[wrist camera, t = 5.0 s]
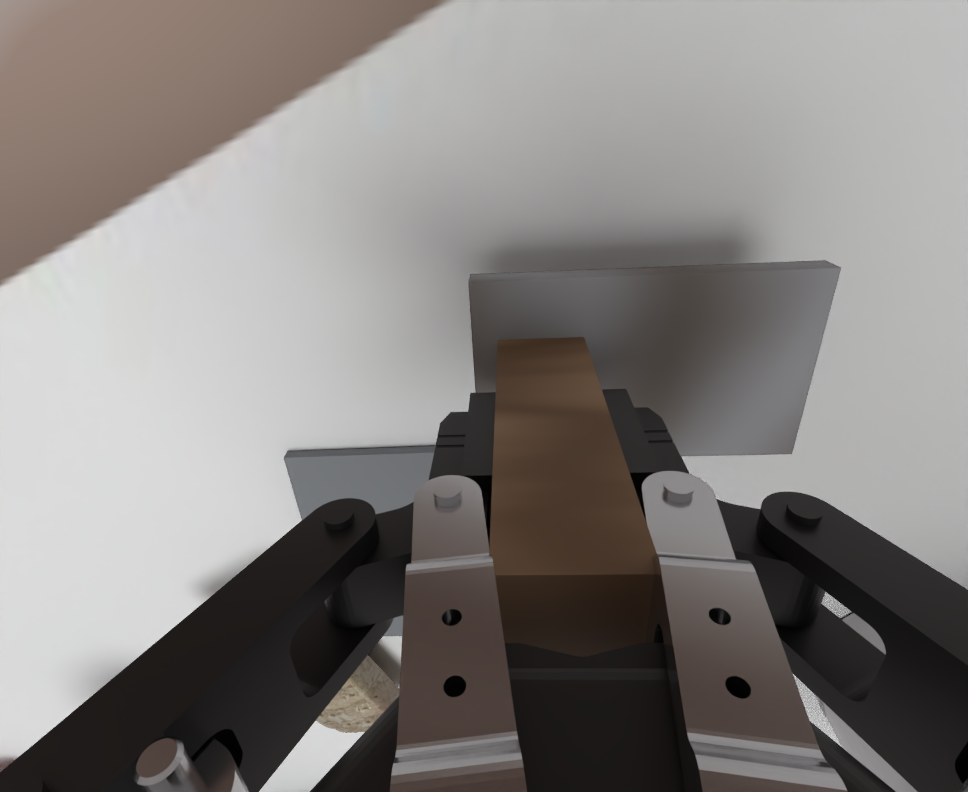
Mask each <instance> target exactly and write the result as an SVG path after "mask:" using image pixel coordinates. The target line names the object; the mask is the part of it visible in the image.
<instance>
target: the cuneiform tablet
mask: <svg viewBox="0 0 968 792" xmlns="http://www.w3.org/2000/svg"><path fill="white" fill-rule="evenodd" d="M399 691H400V689H399V688H398V687H397V686H396V685H395V683H394V682H393V681H392V680H391V679H390V678H389V677H388V676H387V675H386V674H385V673H384V672H383V670H382V669H381V668H380V667H379V666H378V665H377V664H376V663H375V662H374V661H373V660H372V659H371V658H370V657H369V656H368V655H367V657H366V658H365V659H364V660H363V662H362V663H361V664H360V665H359V667H358V668H357V669H356V670H355V672H354V673H353V674H352V675H351V677H350V678H349V679H348V680H347V682H346V683H345V684H344V685H343V687H342V688H341V689H340V690H339V692H338V693H337V694H336V695H335V697H334V698H333V699H332V700H331V702H330V703H329V704H328V705H327V707H326V708H325V709H324V711H323V712H322V713H321V714H320V716H319V717H318V718H317V719H316V721H317V722H319V723H320V724H322V725H324V726H326V727H328V728H332V729H334V728H335V729H336V730H338V731H340V732H345V733H347V732H350V733H352V732H355V733H356V732H366V731H367V730H368V729H369V727H370V726H371V725H372V724H373V723H374V722H375V721H376V720H377V719H378V718H379V717H380V716H381V715H382V713H383V712H384V711H385V710H386V709H387V708H388V707H389V706H390V705H391V704H392V703H393V702H394V701H395V700H396V699H397V698H398V697H399Z"/></svg>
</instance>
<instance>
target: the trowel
mask: <svg viewBox="0 0 968 792" xmlns="http://www.w3.org/2000/svg"><path fill="white" fill-rule="evenodd" d="M840 270H841V268H840V267H838V266H836V265H834V264H832V263H830V262H828V261H826V260H822V261H797V262H771V263H746V264H720V265H695V266H669V267H644V268H618V269H593V270H568V271H542V272H517V273H491V274H470V278H469V297H470V313H471V328H472V343H473V359H474V374H475V390H476V393H485V392H496V398H495V423H494V448H493V472H492V497H491V522H490V547H489V555H492V559H493V565H494V572H495V579H496V586H497V593H498V600H499V608H500V615H501V622H502V629H503V636H504V643H522V644H527V645H531V646H535V647H539V648H544V649H548V650H552V651H557V652H561V653H565V654H570V655H574V656H579V657H585V656H590V655H594V654H598V653H602V652H606V651H611V650H615V649H619V648H623V647H627V646H631V645H635V644H639V643H645V640H646V633H647V625H648V618H649V611H650V603H651V596H652V588H653V581H654V568H653V561H652V556H654V555H655V553H656V550H655V547H654V544H653V541H652V538H651V535H650V532H649V529H648V526H647V523H646V520H645V517H644V514H643V511H642V508H641V505H640V502H639V499H638V496H637V493H636V490H635V487H634V484H633V481H632V478H631V475H630V473H629V470H628V467H627V464H626V461H625V458H624V455H623V452H622V449H621V446H620V443H619V440H618V437H617V434H616V431H615V428H614V425H613V422H612V419H611V416H610V413H609V410H608V407H607V404H606V401H605V398H604V395H603V392H602V389H626V390H627V392H628V394H629V397H630V399H631V401H632V404H633V406H634V408H639V407H648V408H650V409H651V410H652V411H654V412H655V413H656V414H658V415H659V416H660V417H661V418H662V419H663V421H664V423H665V425H666V427H667V429H668V433H670V435H671V437H672V439H673V443H675V446H676V448H677V450H678V452H679V454H680V456H719V455H770V454H792V451H793V448H794V444H795V440H796V436H797V433H798V429H799V425H800V421H801V417H802V414H803V410H804V406H805V402H806V398H807V395H808V391H809V387H810V383H811V379H812V376H813V372H814V368H815V364H816V361H817V357H818V353H819V349H820V345H821V342H822V338H823V334H824V330H825V326H826V323H827V319H828V315H829V311H830V308H831V304H832V300H833V296H834V292H835V289H836V285H837V281H838V277H839V273H840Z"/></svg>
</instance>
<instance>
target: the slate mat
mask: <svg viewBox="0 0 968 792" xmlns="http://www.w3.org/2000/svg"><path fill="white" fill-rule="evenodd" d="M435 448H436V446H420V447H393V448H365V449H338V450H310V451H288V452H287V453H286V455H285V457H284V460H285V464H286V467H287V471H288V474H289V477H290V481H291V484H292V488H293V491H294V494H295V498H296V501H297V505H298V508H299V511H300V515H301V518H302V520H303V519H304V518H306V517H307V516H308V515H309V514H310V513H312V512H313V511H314V510H315V509H317V508H318V507H320V506H322V505H323V504H326V503H328V502H331V501H334V500H338V499H344V498H356V499H361V500H364V501H366V502H368V503H369V504H371V505H372V507H373V508H374V510H375V514H379V513H383V512H387V511H391V510H395V509H399V508H402V507H404V506H407V505H408V504H410V503H412V502H414V495H415V493H416V491H417V490H418V488H419V487H420V486H421V485H422V484H424V483H425V482H427V481H428V480H429V475H430V470H431V466H432V461H433V456H434V451H435ZM402 633H403V615H402V616H399V617H395V618H393V622H392V624H391V626H390V627H389V629H388V630H387V632H386V633H385V634H384V635H383V636H402Z"/></svg>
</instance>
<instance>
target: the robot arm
mask: <svg viewBox="0 0 968 792" xmlns="http://www.w3.org/2000/svg"><path fill="white" fill-rule="evenodd" d="M602 392H603V395H604V398H605V401H606V404H607V407H608V410H609V413H610V416H611V419H612V422H613V425H614V428H615V431H616V434H617V437H618V440H619V443H620V446H621V449H622V452H623V455H624V458H625V461H626V464H627V467H628V470H629V473H630V475H631V478H632V481H633V484H634V487H635V490H636V493H637V496H638V499H639V502H640V505H641V508H642V511H643V514H644V517H645V520H646V523H647V526H648V529H649V532H650V535H651V538H652V541H653V544H654V547H655V550H656V553H655V555H654V556H652V561H653V568H654V581H653V588H652V596H651V603H650V611H649V618H648V625H647V633H646V640H645V643H639V644H635V645H631V646H627V647H623V648H619V649H615V650H611V651H606V652H602V653H598V654H594V655H590V656H585V657H579V656H574V655H570V654H565V653H561V652H557V651H552V650H548V649H544V648H539V647H535V646H531V645H527V644H522V643H504V636H503V629H502V622H501V615H500V608H499V600H498V593H497V586H496V579H495V572H494V565H493V559H492V555H489V547H490V522H491V497H492V472H493V448H494V423H495V398H496V392H485V393H471V394H470V402H469V410H468V412H451V413H450V414H449V415H448V416H447V417H446V418H445V419H444V420H443V421H442V422H441V423H440V427H439V432H438V438H437V442H436V448H435V451H434V456H433V461H432V466H431V470H430V475H429V480H428V481H427V482H425V483H424V484H422V485H421V486H420V487H419V488H418V490H417V491H416V493H415V495H414V502H412V503H410V504H408V505H407V506H404V507H402V508H399V509H395V510H391V511H387V512H383V513H379V514H375V510H374V508H373V507H372V505H371V504H369V503H368V502H366V501H364V500H361V499H356V498H344V499H338V500H334V501H331V502H328V503H326V504H323V505H322V506H320V507H318V508H317V509H315V510H314V511H313V512H312V513H310V514H309V515H308V516H307V517H306V518H304V519H303V520H302V521H301V522H300V523H299V524H297V525H296V526H295V527H294V528H293V529H291V530H290V531H289V532H288V533H287V534H285V535H284V536H283V537H282V538H281V539H279V540H278V541H277V542H276V543H275V544H273V545H272V546H271V547H270V548H269V549H267V550H266V551H265V552H264V553H263V554H261V555H260V556H259V557H258V558H257V559H255V560H254V561H253V562H252V563H251V564H249V565H248V566H247V567H246V568H245V569H243V570H242V571H241V572H240V573H239V574H237V575H236V576H235V577H234V578H233V579H231V580H230V581H229V582H228V583H227V584H225V585H224V586H223V587H222V588H221V589H220V590H218V591H217V592H216V593H215V594H214V595H212V596H211V597H210V598H209V599H208V600H206V601H205V602H204V603H203V604H202V605H200V606H199V607H198V608H197V609H196V610H194V611H193V612H192V613H191V614H190V615H188V616H187V617H186V618H185V619H184V620H182V621H181V622H180V623H179V624H178V625H176V626H175V627H174V628H173V629H172V630H170V631H169V632H168V633H167V634H166V635H164V636H163V637H162V638H161V639H160V640H158V641H157V642H156V643H155V644H154V645H152V646H151V647H150V648H149V649H148V650H146V651H145V652H144V653H143V654H142V655H141V656H139V657H138V658H137V659H136V660H135V661H133V662H132V663H131V664H130V665H129V666H127V667H126V668H125V669H124V670H123V671H121V672H120V673H119V674H118V675H117V676H115V677H114V678H113V679H112V680H111V681H109V682H108V683H107V684H106V685H105V686H103V687H102V688H101V689H100V690H99V691H97V692H96V693H95V694H94V695H93V696H91V697H90V698H89V699H88V700H87V701H85V702H84V703H83V704H82V705H81V706H79V707H78V708H77V709H76V710H75V711H73V712H72V713H71V714H70V715H69V716H68V717H66V718H65V719H64V720H63V721H62V722H60V723H59V724H58V725H57V726H56V727H54V728H53V729H52V730H51V731H50V732H48V733H47V734H46V735H45V736H44V737H42V738H41V739H40V740H39V741H38V742H36V743H35V744H34V745H33V746H32V747H30V748H29V749H28V750H27V751H26V752H24V753H23V754H22V755H21V756H20V757H18V758H17V759H16V760H15V761H14V762H12V763H11V764H10V765H9V766H8V767H6V768H5V769H4V770H3V771H2V772H0V792H259V791H260V789H261V788H262V787H263V786H264V784H265V783H266V782H267V781H268V779H269V778H270V777H271V776H272V774H273V773H274V772H275V771H276V769H277V768H278V767H279V766H280V764H281V763H282V762H283V761H284V759H285V758H286V757H287V756H288V754H289V753H290V752H291V751H292V749H293V748H294V747H295V746H296V744H297V743H298V742H299V741H300V739H301V738H302V737H303V736H304V734H305V733H306V732H307V731H308V729H309V728H310V727H311V726H312V724H313V723H314V722H315V721H316V719H317V718H318V717H319V716H320V714H321V713H322V712H323V711H324V709H325V708H326V707H327V705H328V704H329V703H330V702H331V700H332V699H333V698H334V697H335V695H336V694H337V693H338V692H339V690H340V689H341V688H342V687H343V685H344V684H345V683H346V682H347V680H348V679H349V678H350V677H351V675H352V674H353V673H354V672H355V670H356V669H357V668H358V667H359V665H360V664H361V663H362V662H363V660H364V659H365V658H366V657H367V655H368V654H369V653H370V652H371V650H372V649H373V648H374V647H375V645H376V644H377V643H378V642H379V640H380V639H381V638H382V637H383V635H384V634H385V633H386V632H387V630H388V629H389V627H390V626H391V624H392V622H393V618H395V617H399V616H402V615H403V633H402V652H401V672H400V691H399V697H398V698H397V699H396V700H395V701H394V702H393V703H392V704H391V705H390V706H389V707H388V708H387V709H386V710H385V711H384V712H383V713H382V715H381V716H380V717H379V718H378V719H377V720H376V721H375V722H374V723H373V724H372V725H371V726H370V727H369V729H368V730H367V731H366V732H365V733H364V734H363V735H362V736H361V737H360V738H359V739H358V740H357V741H356V743H355V744H354V745H353V746H352V747H351V748H350V749H349V750H348V751H347V752H346V753H345V754H344V755H343V757H342V758H341V759H340V760H339V761H338V762H337V763H336V764H335V765H334V766H333V767H332V768H331V769H330V771H329V772H328V773H327V774H326V775H325V776H324V777H323V778H322V779H321V780H320V781H319V782H318V783H317V785H316V786H315V787H314V788H313V789H312V790H311V791H310V792H968V590H967V589H965V588H964V587H962V586H961V585H959V584H957V583H956V582H954V581H953V580H951V579H949V578H948V577H946V576H944V575H943V574H941V573H940V572H938V571H936V570H935V569H933V568H932V567H930V566H928V565H927V564H925V563H923V562H922V561H920V560H919V559H917V558H915V557H914V556H912V555H911V554H909V553H907V552H906V551H904V550H902V549H901V548H899V547H898V546H896V545H894V544H893V543H891V542H890V541H888V540H886V539H885V538H883V537H881V536H880V535H878V534H877V533H875V532H873V531H872V530H870V529H869V528H867V527H865V526H864V525H862V524H860V523H859V522H857V521H856V520H854V519H852V518H851V517H849V516H848V515H846V514H844V513H843V512H841V511H839V510H838V509H836V508H835V507H833V506H831V505H830V504H828V503H826V502H824V501H823V500H820V499H818V498H816V497H813V496H810V495H806V494H802V493H797V492H778V493H774V494H771V495H769V496H767V497H766V498H765V499H764V500H763V502H762V506H761V510H760V509H755V508H750V507H744V506H739V505H734V504H730V503H726V502H723V501H720V500H718V499H716V497H715V494H714V492H713V490H712V488H711V487H710V486H709V485H708V484H707V483H706V482H704V481H703V480H702V479H700V478H698V477H696V476H693V475H691V474H689V472H688V470H687V468H686V466H685V464H684V462H683V460H682V458H681V456H680V454H679V452H678V450H677V448H676V446H675V443H673V439H672V437H671V435H670V433H668V429H667V427H666V425H665V423H664V421H663V419H662V418H661V417H660V416H659V415H658V414H656V413H655V412H654V411H652V410H651V409H650V408H648V407H639V408H634V406H633V404H632V401H631V399H630V397H629V394H628V392H627V390H626V389H602ZM825 591H826V592H827V593H828V594H830V595H831V596H832V597H834V598H835V599H836V600H837V601H839V602H840V603H841V604H843V605H844V606H845V607H847V608H848V609H849V610H851V611H852V612H853V614H851V615H849V616H847V617H845V618H844V619H842V620H841V619H840V618H839V617H837V616H836V615H835V614H833V613H832V612H831V611H830V610H828V609H827V608H826V607H825V606H823V605H822V604H821V602H822V600H823V597H824V594H825ZM792 673H793V674H794V675H795V676H796V677H797V678H798V679H799V680H800V681H802V682H803V683H804V684H805V685H806V686H807V687H808V688H809V689H810V690H811V691H812V692H813V693H814V694H815V696H816V698H817V700H818V702H819V705H820V708H821V710H822V712H823V714H824V715H825V717H827V719H828V721H829V723H830V725H831V727H832V729H833V730H834V732H835V734H836V736H837V738H838V740H839V742H840V744H841V746H842V747H843V748H842V747H841V746H839V745H838V744H837V743H836V742H835V741H833V740H832V739H831V738H830V737H828V736H827V735H826V734H825V733H824V732H822V731H821V730H820V729H819V728H817V727H816V726H815V725H814V724H813V723H811V722H810V721H809V718H808V715H807V713H806V710H805V707H804V704H803V702H802V699H801V696H800V693H799V690H798V688H797V685H796V682H795V679H794V677H793V674H792Z"/></svg>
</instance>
